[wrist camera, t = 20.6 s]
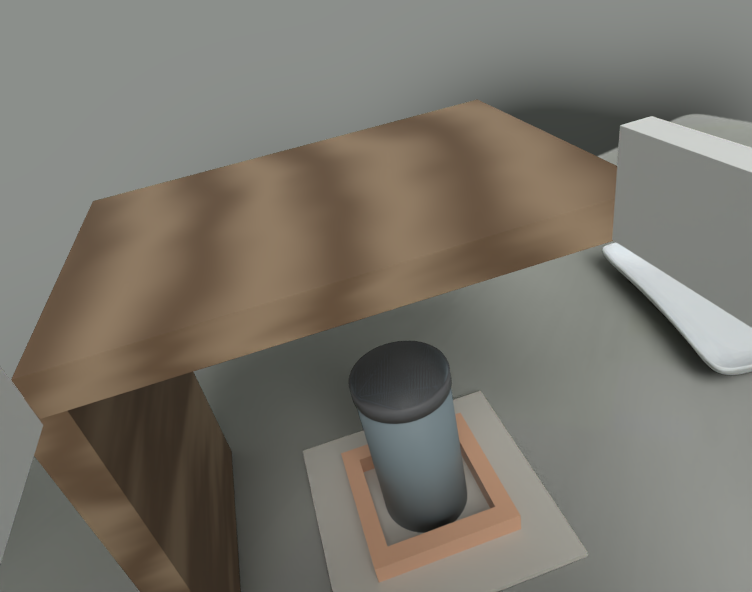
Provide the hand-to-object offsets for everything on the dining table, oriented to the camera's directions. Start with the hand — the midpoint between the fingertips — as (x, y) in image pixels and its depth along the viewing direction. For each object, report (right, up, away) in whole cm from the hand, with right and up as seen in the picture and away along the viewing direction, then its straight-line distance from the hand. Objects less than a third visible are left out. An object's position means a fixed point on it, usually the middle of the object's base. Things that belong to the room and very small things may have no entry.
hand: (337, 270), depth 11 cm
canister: (+4, -15, +29) cm, 33 cm away
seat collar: (+4, -15, +29) cm, 33 cm away
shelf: (+2, -15, +31) cm, 34 cm away
